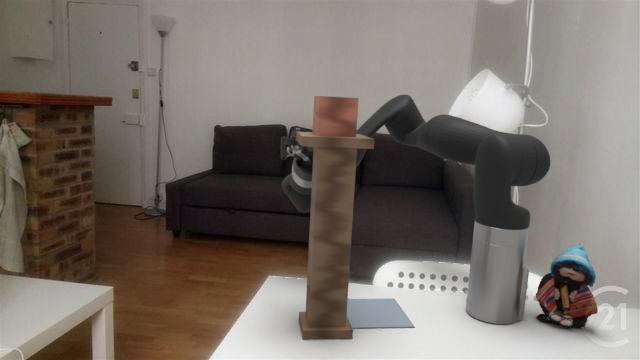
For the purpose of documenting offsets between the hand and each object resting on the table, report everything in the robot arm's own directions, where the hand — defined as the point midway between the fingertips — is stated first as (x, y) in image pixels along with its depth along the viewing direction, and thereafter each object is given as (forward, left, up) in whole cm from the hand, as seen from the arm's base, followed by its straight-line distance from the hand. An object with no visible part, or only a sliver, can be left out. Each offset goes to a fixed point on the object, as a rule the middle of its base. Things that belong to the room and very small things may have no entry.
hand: (320, 133), depth 93 cm
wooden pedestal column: (0, +14, -31) cm, 34 cm away
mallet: (0, +8, +1) cm, 9 cm away
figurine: (-43, +16, -32) cm, 56 cm away
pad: (-10, +10, -31) cm, 34 cm away
